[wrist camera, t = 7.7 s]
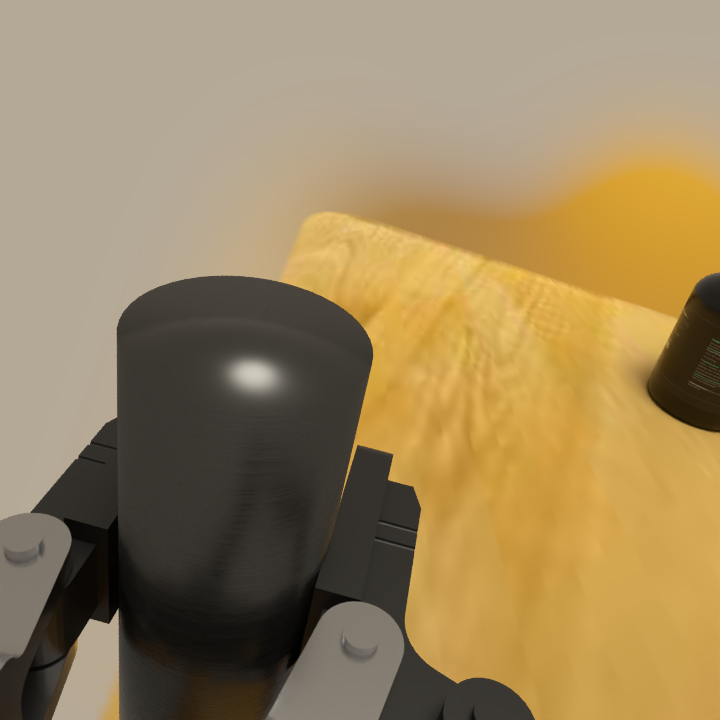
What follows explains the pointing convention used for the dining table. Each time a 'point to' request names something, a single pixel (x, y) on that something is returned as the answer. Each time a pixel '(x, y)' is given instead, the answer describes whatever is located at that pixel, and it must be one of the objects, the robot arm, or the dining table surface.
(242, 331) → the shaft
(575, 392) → the dining table surface
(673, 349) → the supplement bottle
